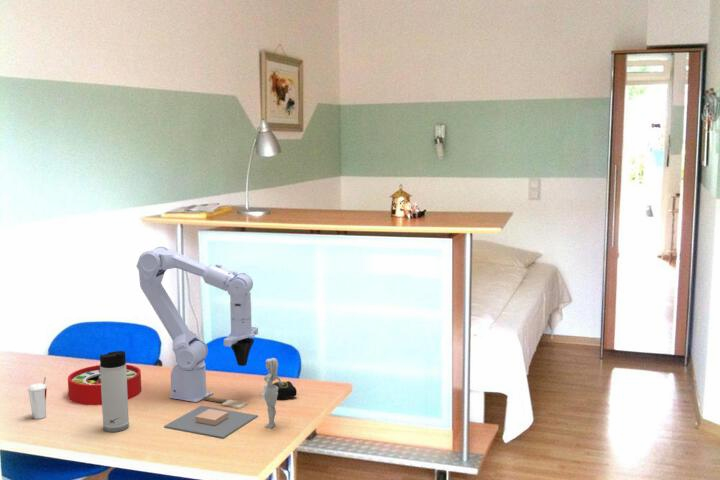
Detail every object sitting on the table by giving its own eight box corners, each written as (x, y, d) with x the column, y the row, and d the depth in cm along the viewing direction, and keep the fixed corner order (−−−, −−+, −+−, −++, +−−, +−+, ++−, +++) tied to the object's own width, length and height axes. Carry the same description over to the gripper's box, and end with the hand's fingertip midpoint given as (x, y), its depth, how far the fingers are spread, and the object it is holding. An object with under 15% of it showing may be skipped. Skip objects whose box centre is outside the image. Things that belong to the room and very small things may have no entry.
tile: (209, 414, 200) (195, 422, 195) (209, 408, 200) (195, 416, 194) (228, 418, 198) (215, 426, 192) (228, 412, 197) (214, 420, 192)
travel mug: (115, 434, 188) (111, 356, 185) (97, 429, 191) (93, 352, 189) (135, 426, 193) (131, 350, 190) (117, 421, 197) (114, 346, 194)
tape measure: (297, 399, 213) (297, 387, 212) (273, 402, 211) (273, 389, 210) (292, 391, 219) (291, 379, 219) (268, 394, 217) (268, 381, 217)
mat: (164, 427, 192) (164, 425, 192) (201, 406, 207) (201, 405, 207) (223, 438, 185) (223, 437, 185) (257, 416, 200) (257, 415, 200)
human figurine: (276, 417, 199) (274, 351, 196) (289, 419, 198) (288, 352, 195) (254, 434, 188) (253, 364, 185) (268, 436, 186) (267, 366, 184)
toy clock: (54, 384, 209) (87, 362, 228) (55, 404, 210) (88, 381, 229) (123, 386, 207) (151, 364, 226) (124, 407, 207) (152, 383, 227)
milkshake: (54, 414, 202) (52, 378, 200) (39, 421, 197) (37, 384, 195) (40, 412, 203) (38, 376, 202) (26, 419, 198) (23, 382, 197)
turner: (200, 402, 211) (200, 398, 210) (208, 397, 214) (208, 394, 214) (239, 408, 205) (239, 405, 205) (247, 404, 209) (247, 400, 209)
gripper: (238, 325, 202) (240, 374, 204) (266, 313, 215) (267, 359, 217) (216, 322, 204) (218, 370, 206) (245, 311, 218) (246, 356, 219)
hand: (242, 365), depth 212 cm, fingers closed
